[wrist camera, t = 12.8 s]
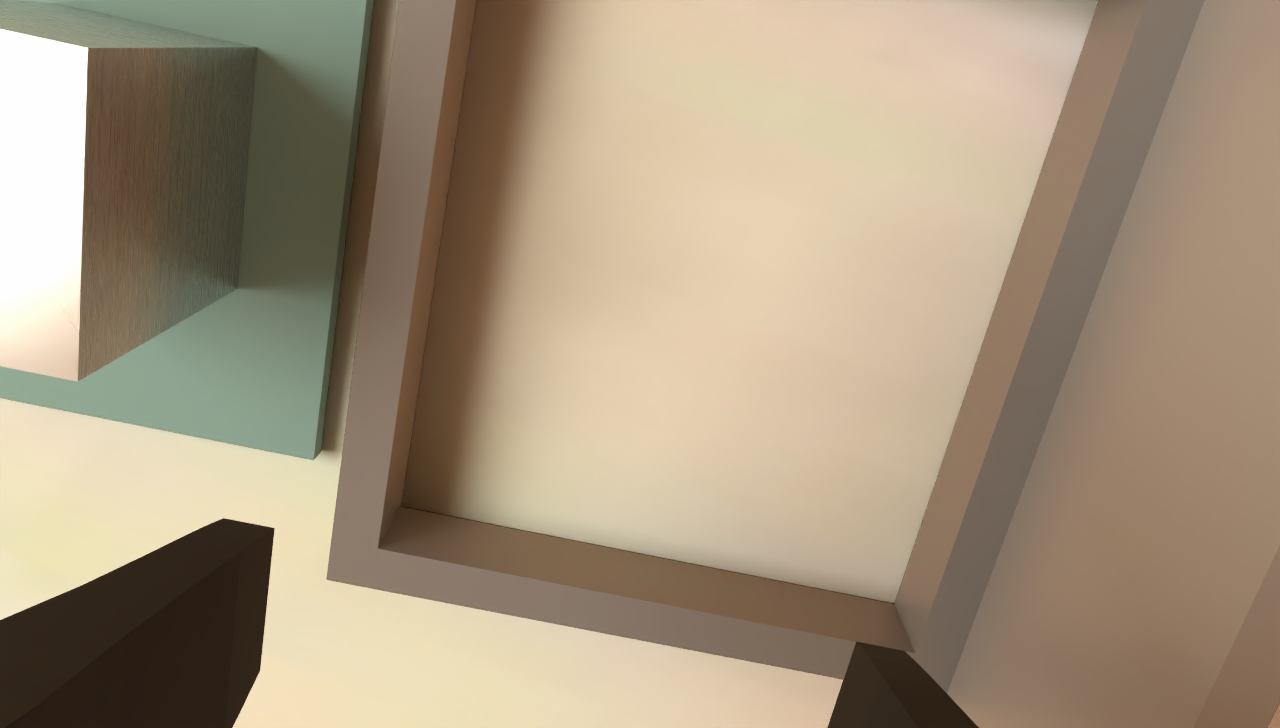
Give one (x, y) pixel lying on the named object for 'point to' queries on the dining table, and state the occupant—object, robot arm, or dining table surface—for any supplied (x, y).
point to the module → (114, 182)
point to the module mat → (253, 242)
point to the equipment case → (986, 425)
